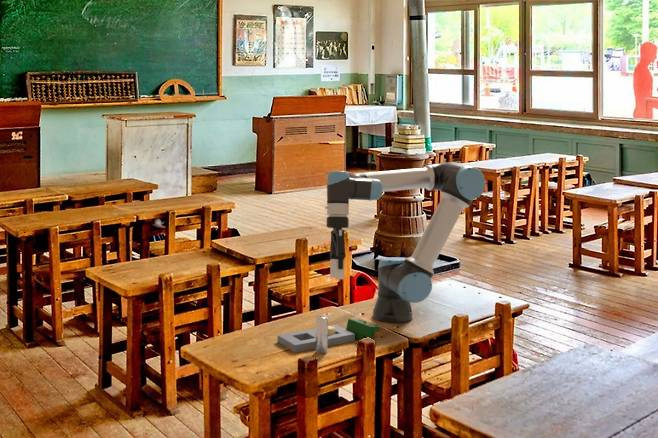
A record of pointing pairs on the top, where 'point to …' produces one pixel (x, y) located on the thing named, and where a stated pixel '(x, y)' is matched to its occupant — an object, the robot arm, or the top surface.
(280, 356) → the top surface
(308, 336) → the bolt plate
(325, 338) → the peg
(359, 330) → the green angular block
